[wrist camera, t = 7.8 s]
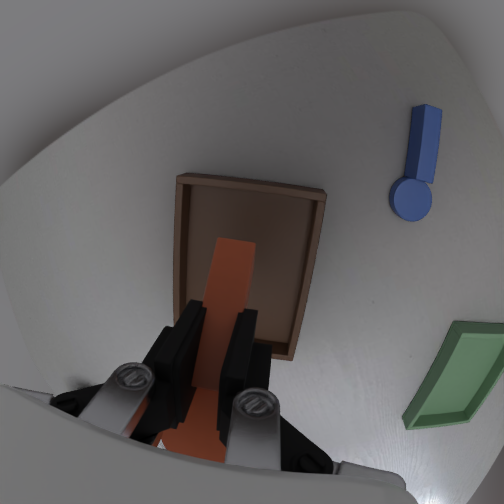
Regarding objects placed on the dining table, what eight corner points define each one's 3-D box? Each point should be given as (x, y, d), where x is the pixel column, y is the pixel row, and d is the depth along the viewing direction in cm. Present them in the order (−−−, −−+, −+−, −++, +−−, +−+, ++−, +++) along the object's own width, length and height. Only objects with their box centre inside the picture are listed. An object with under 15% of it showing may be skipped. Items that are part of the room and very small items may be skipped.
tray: (186, 172, 24) (176, 175, 22) (323, 189, 23) (327, 194, 21) (181, 327, 29) (174, 341, 27) (292, 345, 28) (292, 361, 26)
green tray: (453, 320, 26) (462, 333, 23) (514, 323, 25) (524, 334, 23) (401, 416, 31) (405, 430, 29) (463, 411, 30) (468, 422, 28)
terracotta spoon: (201, 259, 15) (193, 232, 12) (274, 271, 15) (280, 245, 12) (160, 453, 10) (141, 465, 8) (242, 470, 10) (242, 487, 8)
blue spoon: (401, 103, 20) (413, 99, 17) (438, 115, 20) (452, 113, 17) (385, 214, 23) (395, 221, 21) (421, 221, 23) (433, 229, 21)
